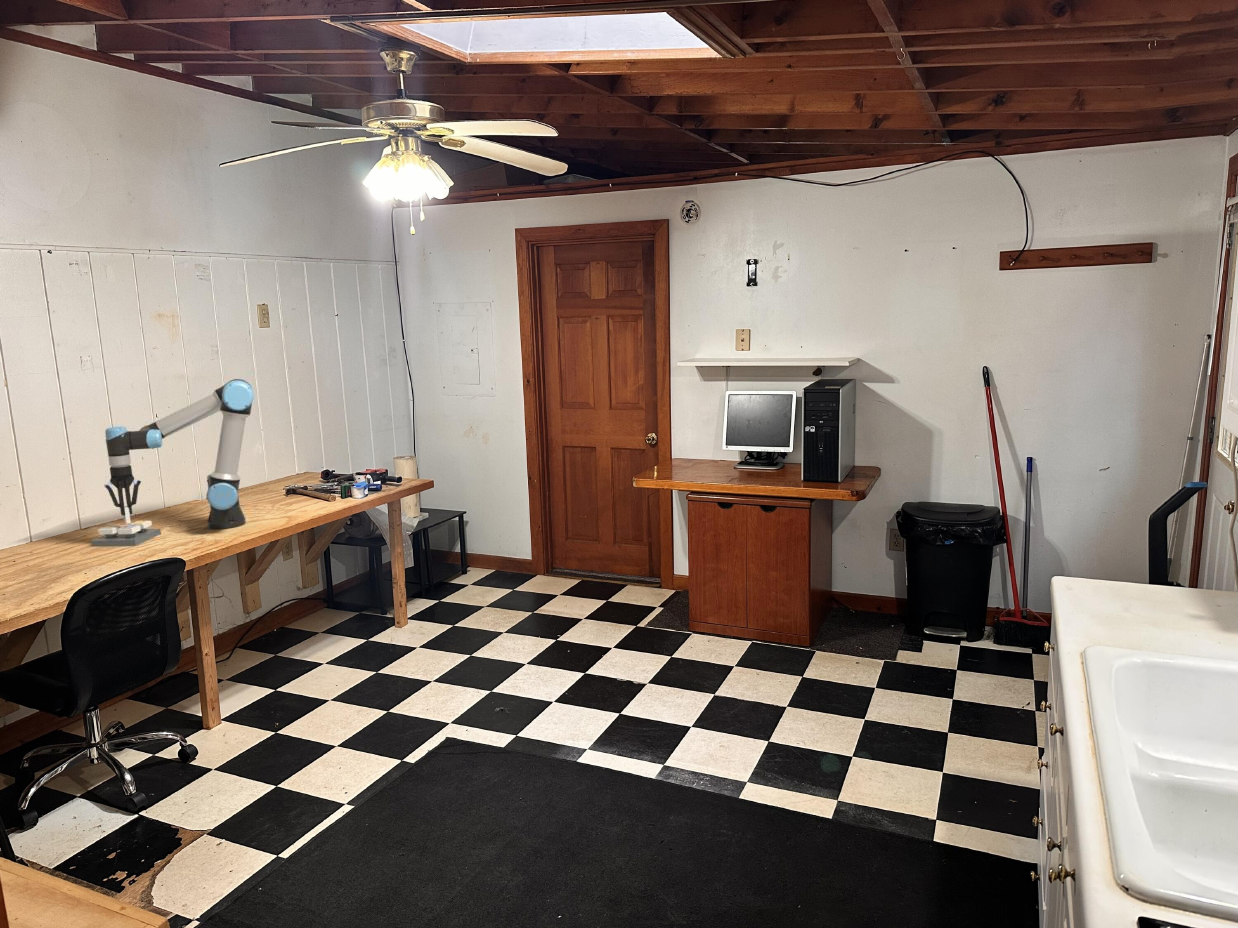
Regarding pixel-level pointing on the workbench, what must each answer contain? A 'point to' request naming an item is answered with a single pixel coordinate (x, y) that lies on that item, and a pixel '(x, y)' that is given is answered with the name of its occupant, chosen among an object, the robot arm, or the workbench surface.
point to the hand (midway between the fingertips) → (127, 522)
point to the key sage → (109, 531)
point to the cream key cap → (142, 525)
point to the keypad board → (126, 539)
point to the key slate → (129, 531)
